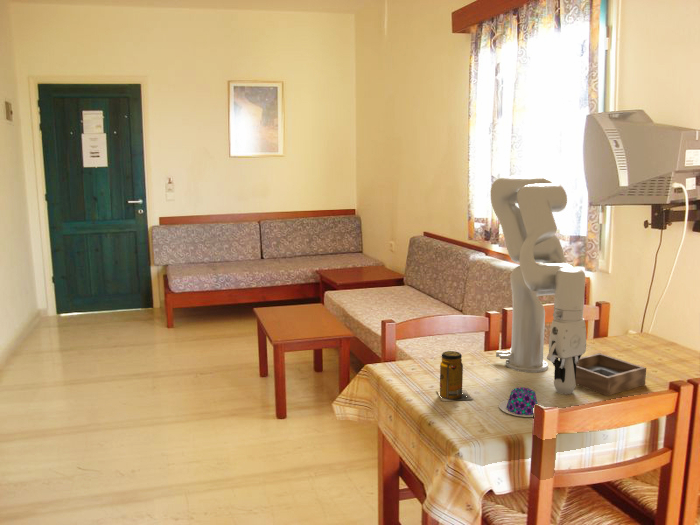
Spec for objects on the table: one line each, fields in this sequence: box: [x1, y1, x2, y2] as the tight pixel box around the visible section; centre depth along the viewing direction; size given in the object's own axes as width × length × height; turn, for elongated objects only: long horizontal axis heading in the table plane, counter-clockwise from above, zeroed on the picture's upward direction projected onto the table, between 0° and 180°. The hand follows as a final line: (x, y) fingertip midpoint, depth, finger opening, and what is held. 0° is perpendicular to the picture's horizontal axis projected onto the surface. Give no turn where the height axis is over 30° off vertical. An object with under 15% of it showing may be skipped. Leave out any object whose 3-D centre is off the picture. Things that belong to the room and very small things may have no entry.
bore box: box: [575, 352, 647, 397], centre depth 191 cm, size 16×16×5 cm
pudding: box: [498, 386, 546, 418], centre depth 172 cm, size 12×12×5 cm
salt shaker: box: [553, 357, 577, 396], centre depth 183 cm, size 6×6×13 cm
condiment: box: [439, 350, 474, 402], centre depth 180 cm, size 7×8×12 cm
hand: (564, 378), depth 183 cm, fingers open, 3 cm apart
